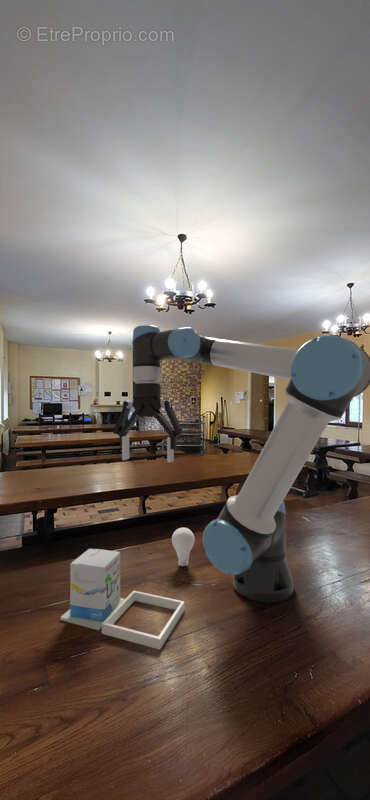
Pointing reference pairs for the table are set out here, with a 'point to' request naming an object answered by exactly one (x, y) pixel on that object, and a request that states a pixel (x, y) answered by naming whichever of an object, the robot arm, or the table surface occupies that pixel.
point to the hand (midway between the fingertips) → (147, 460)
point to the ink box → (94, 584)
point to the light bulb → (183, 544)
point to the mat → (86, 622)
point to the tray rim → (140, 636)
